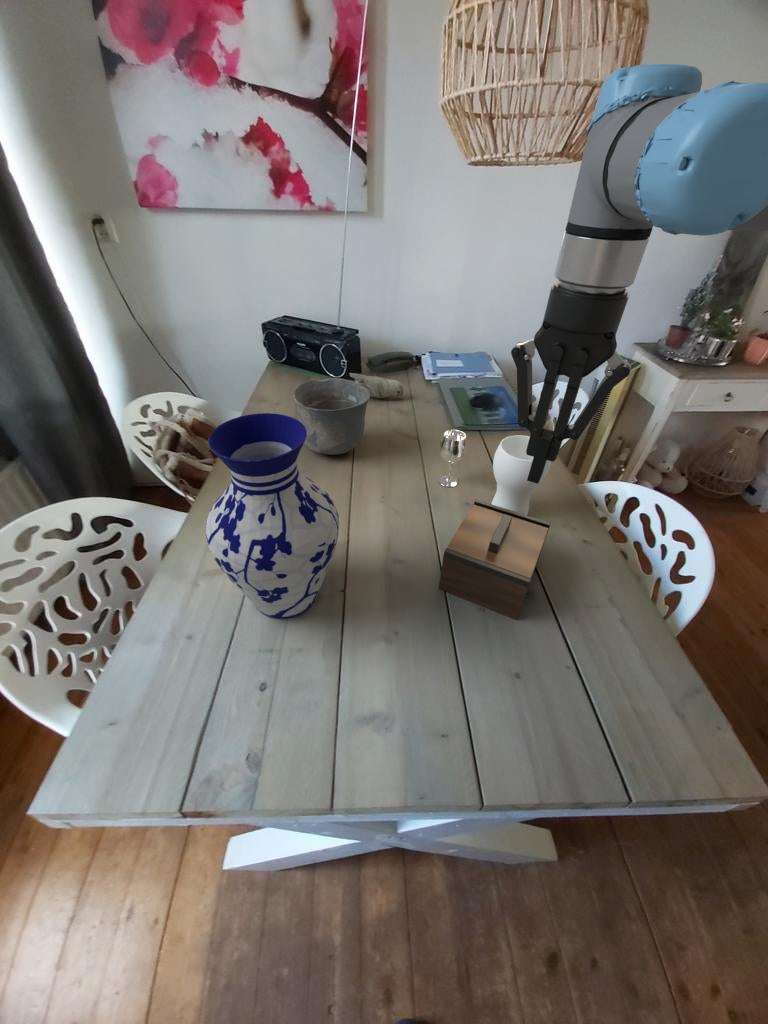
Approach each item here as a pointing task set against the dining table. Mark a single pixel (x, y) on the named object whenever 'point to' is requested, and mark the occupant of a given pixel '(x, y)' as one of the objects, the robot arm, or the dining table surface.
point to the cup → (514, 474)
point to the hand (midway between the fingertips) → (534, 477)
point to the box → (486, 576)
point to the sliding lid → (500, 540)
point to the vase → (270, 516)
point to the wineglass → (452, 453)
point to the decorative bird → (379, 386)
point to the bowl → (331, 414)
